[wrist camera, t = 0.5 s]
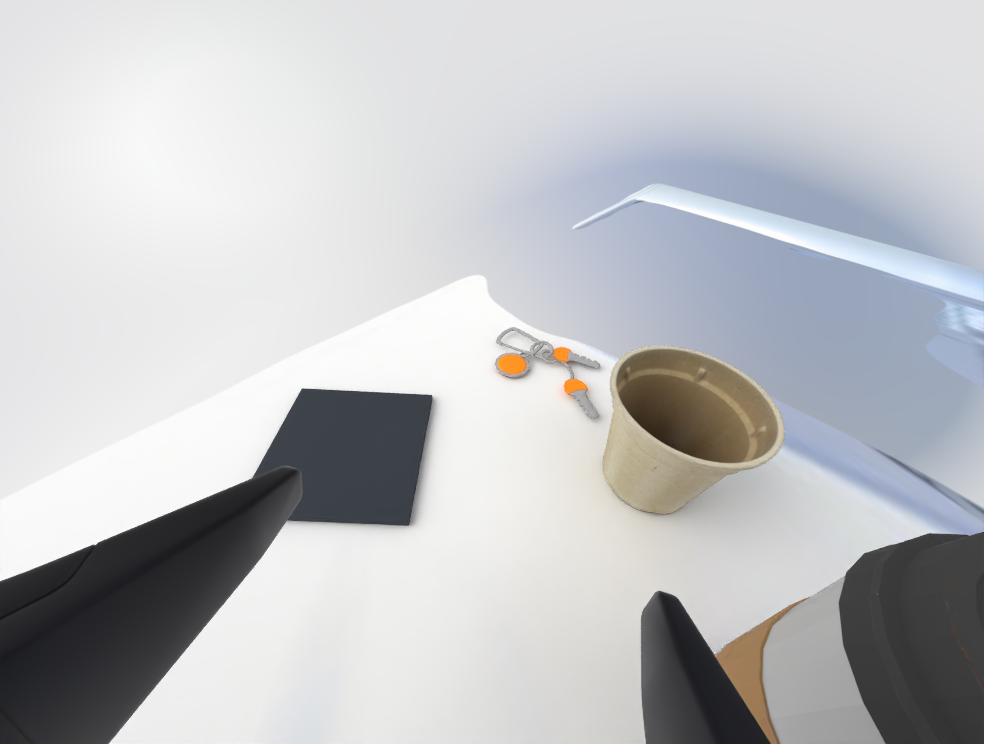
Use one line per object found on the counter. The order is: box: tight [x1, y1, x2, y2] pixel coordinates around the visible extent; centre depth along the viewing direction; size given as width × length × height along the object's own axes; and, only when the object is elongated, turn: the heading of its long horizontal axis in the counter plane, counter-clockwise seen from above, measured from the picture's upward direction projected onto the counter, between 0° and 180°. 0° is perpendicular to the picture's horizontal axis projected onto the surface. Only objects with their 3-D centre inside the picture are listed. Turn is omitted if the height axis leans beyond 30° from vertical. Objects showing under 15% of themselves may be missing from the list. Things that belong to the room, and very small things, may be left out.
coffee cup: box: [715, 532, 984, 744], centre depth 12 cm, size 8×8×15 cm
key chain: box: [495, 327, 600, 418], centre depth 34 cm, size 13×7×1 cm, turn 53°
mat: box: [253, 389, 432, 525], centre depth 27 cm, size 11×11×1 cm
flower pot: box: [603, 345, 785, 514], centre depth 24 cm, size 9×9×9 cm
